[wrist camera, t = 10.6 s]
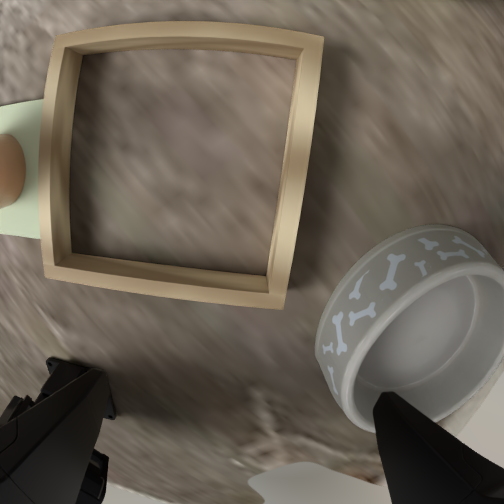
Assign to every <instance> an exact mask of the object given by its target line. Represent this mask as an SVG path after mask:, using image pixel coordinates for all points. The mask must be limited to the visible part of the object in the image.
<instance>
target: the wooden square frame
mask: <svg viewBox="0 0 504 504" xmlns="http://www.w3.org/2000/svg"><path fill="white" fill-rule="evenodd" d="M323 43H324V37H322V36H318V35H313V34H308V33H303V32H298V31H292V30H286V29H280V28H273V27H266V26H258V25H249V24H239V23H226V22H206V21H164V22H145V23H132V24H122V25H113V26H106V27H99V28H92V29H86V30H81V31H75V32H70V33H65V34H61V35H56V37H55V41H54V45H53V49H52V54H51V59H50V64H49V69H48V74H47V80H46V86H45V93H44V100H43V108H42V117H41V127H40V140H39V160H38V203H39V224H40V237H41V248H42V257H43V265H44V273H45V278H51V279H56V280H61V281H67V282H72V283H78V284H83V285H89V286H95V287H101V288H107V289H114V290H120V291H127V292H133V293H140V294H147V295H154V296H161V297H169V298H176V299H184V300H192V301H201V302H209V303H218V304H227V305H237V306H247V307H257V308H268V309H280V310H283V307H284V302H285V297H286V291H287V286H288V281H289V275H290V270H291V265H292V259H293V254H294V248H295V242H296V237H297V231H298V225H299V219H300V213H301V207H302V201H303V195H304V188H305V182H306V175H307V169H308V162H309V155H310V148H311V141H312V134H313V127H314V119H315V112H316V104H317V96H318V88H319V80H320V71H321V62H322V53H323ZM149 49H198V50H218V51H231V52H242V53H251V54H260V55H267V56H274V57H281V58H287V59H293V60H297V61H296V69H295V77H294V85H293V93H292V100H291V108H290V115H289V123H288V130H287V138H286V145H285V152H284V159H283V166H282V174H281V181H280V187H279V194H278V201H277V208H276V215H275V222H274V228H273V235H272V242H271V248H270V255H269V261H268V268H267V274H266V276H259V275H250V274H240V273H231V272H222V271H213V270H204V269H195V268H187V267H178V266H170V265H161V264H153V263H145V262H137V261H129V260H121V259H114V258H106V257H99V256H91V255H84V254H77V253H72V250H71V235H70V208H69V179H70V153H71V138H72V126H73V116H74V108H75V100H76V93H77V86H78V80H79V74H80V68H81V63H82V58H83V55H89V54H97V53H106V52H117V51H130V50H149Z"/></svg>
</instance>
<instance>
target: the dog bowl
mask: <svg viewBox="0 0 504 504" xmlns="http://www.w3.org/2000/svg"><path fill="white" fill-rule="evenodd" d="M315 357H316V359H317V361H318V363H319V365H320V368H321V370H322V372H323V375H324V377H325V380H326V382H327V384H328V387H329V389H330V391H331V393H332V395H333V397H334V399H335V400H336V402H337V403H338V405H339V406H340V407H341V408H342V410H343V411H344V413H345V414H346V416H347V417H348V418H349V419H350V420H351V421H352V422H353V423H354V424H355V425H357V426H358V427H360V428H361V429H364V430H366V431H369V432H373V433H376V431H375V425H374V419H373V407H374V405H375V404H376V402H377V400H378V398H379V396H380V394H381V393H382V392H384V391H394V392H395V393H397V394H398V395H399V396H401V397H402V398H403V399H405V400H406V401H407V402H408V403H410V404H411V405H412V406H414V407H415V408H416V409H418V410H419V411H420V412H422V413H423V414H424V415H426V416H427V417H428V418H430V419H431V420H433V421H434V422H437V421H439V420H441V419H443V418H445V417H446V416H448V415H450V414H451V413H453V412H454V411H456V410H457V409H459V408H460V407H461V406H463V405H464V404H465V403H466V402H467V401H469V400H470V399H471V398H472V397H473V396H474V395H475V394H476V393H477V392H478V391H479V390H480V389H481V388H482V387H483V386H484V385H485V383H486V382H487V381H488V380H489V379H490V377H491V376H492V375H493V373H494V372H495V370H496V369H497V367H498V366H499V364H500V363H501V361H502V359H503V357H504V270H503V269H502V268H501V267H500V266H499V265H498V263H497V262H496V261H495V260H494V259H493V258H492V256H491V255H490V254H489V253H488V251H487V250H486V249H485V248H484V247H483V246H482V245H481V243H480V242H479V241H478V240H477V239H476V238H474V237H473V236H472V235H471V234H469V233H467V232H466V231H464V230H461V229H459V228H456V227H453V226H448V225H441V224H429V225H421V226H416V227H413V228H409V229H406V230H404V231H401V232H399V233H397V234H395V235H393V236H391V237H389V238H387V239H385V240H384V241H382V242H381V243H379V244H378V245H376V246H375V247H374V248H372V249H371V250H370V251H368V252H367V253H366V254H365V255H364V256H363V257H361V258H360V259H359V260H358V261H357V262H356V263H355V264H354V265H353V266H352V268H351V269H350V270H349V271H348V272H347V273H346V275H345V276H344V277H343V278H342V280H341V281H340V282H339V284H338V285H337V287H336V288H335V290H334V292H333V293H332V295H331V297H330V299H329V301H328V303H327V305H326V307H325V309H324V311H323V314H322V316H321V319H320V322H319V326H318V330H317V334H316V341H315Z"/></svg>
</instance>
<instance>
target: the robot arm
mask: <svg viewBox="0 0 504 504" xmlns="http://www.w3.org/2000/svg"><path fill="white" fill-rule="evenodd" d="M46 365H47V368H48V371H49V374H50V376H49V378H48V379H47V381H46V382H45V384H44V385H43V387H42V388H41V393H40V394H39V396H38V397H37V399H36V400H35V402H34V401H32V398H30V397H29V396H28V395H26V397H25V398H24V399H23V398H20V397H18V396H14V397H13V399H12V400H11V401H10V403H9V404H8V406H7V407H6V409H5V410H4V412H3V414H2V415H1V417H0V504H101V503H102V501H103V499H104V497H105V493H106V484H107V472H108V462H109V457H108V456H106V455H105V454H102V453H100V452H99V451H97V450H96V449H94V446H95V444H96V441H97V438H98V435H99V432H100V429H101V425H102V420H103V418H106V419H110V420H115V418H116V412H115V409H114V405H113V401H112V397H111V392H110V388H109V384H108V379H107V376H106V372H105V371H104V370H100V369H96V368H93V369H89V368H85V367H82V366H78V365H74V364H70V363H67V362H63V361H60V360H57V359H53V358H48V359H47V360H46ZM373 419H374V425H375V431H376V438H377V444H378V450H379V454H380V458H381V461H382V465H383V469H384V473H385V477H386V481H387V485H388V489H389V493H390V497H391V501H392V504H504V469H503V468H502V467H500V466H498V465H496V464H495V463H493V462H491V461H489V460H488V459H486V458H484V457H483V456H481V455H480V454H478V453H477V452H475V451H474V450H472V449H471V448H469V447H468V446H467V445H465V444H463V443H462V442H461V441H459V440H458V439H457V438H456V437H454V436H453V435H451V434H450V433H449V432H447V431H446V430H445V429H443V428H442V427H441V426H439V425H438V424H437V423H435V422H434V421H433V420H431V419H430V418H428V417H427V416H426V415H424V414H423V413H422V412H420V411H419V410H418V409H416V408H415V407H414V406H412V405H411V404H410V403H408V402H407V401H406V400H405V399H403V398H402V397H401V396H399V395H398V394H397V393H395V392H394V391H384V392H382V393H381V394H380V396H379V398H378V400H377V402H376V404H375V405H374V407H373Z"/></svg>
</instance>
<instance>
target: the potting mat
mask: <svg viewBox="0 0 504 504" xmlns="http://www.w3.org/2000/svg"><path fill="white" fill-rule="evenodd" d="M43 100H44V99H40V100H34V101H27V102H22V103H16V104H11V105H6V106H1V107H0V134H9V135H12V136H13V137H15V138H16V139H17V141H18V142H19V144H20V145H21V147H22V150H23V153H24V157H25V163H26V175H25V182H24V186H23V189H22V192H21V194H20V196H19V197H18V199H17V200H16V201H15V202H14V203H13V204H11V205H9V206H7V207H4V208H2V209H0V234H7V235H15V236H22V237H30V238H37V239H41V237H40V224H39V203H38V160H39V140H40V127H41V117H42V108H43Z"/></svg>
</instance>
